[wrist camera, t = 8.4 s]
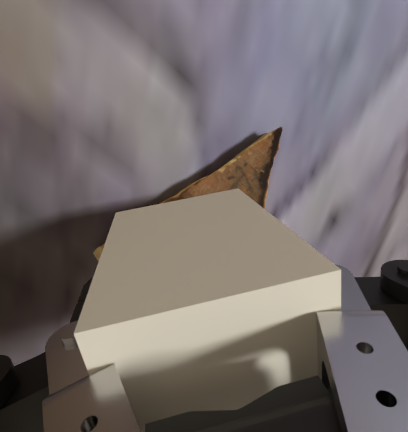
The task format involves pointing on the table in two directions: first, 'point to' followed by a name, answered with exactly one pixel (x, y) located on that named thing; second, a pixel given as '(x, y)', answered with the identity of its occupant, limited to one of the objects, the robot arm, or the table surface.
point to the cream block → (204, 305)
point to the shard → (236, 174)
